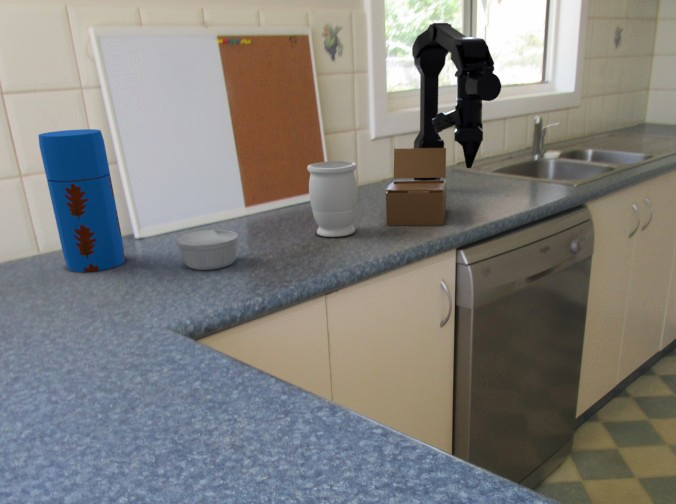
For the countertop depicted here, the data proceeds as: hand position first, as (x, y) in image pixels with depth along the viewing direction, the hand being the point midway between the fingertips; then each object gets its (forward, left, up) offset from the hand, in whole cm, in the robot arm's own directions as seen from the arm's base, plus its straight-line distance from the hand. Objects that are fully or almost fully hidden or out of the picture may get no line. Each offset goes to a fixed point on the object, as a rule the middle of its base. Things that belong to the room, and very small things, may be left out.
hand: (468, 167), depth 155 cm
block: (-12, -3, -11) cm, 16 cm away
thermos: (-58, -59, -11) cm, 83 cm away
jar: (-23, -25, -11) cm, 36 cm away
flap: (-13, +2, 0) cm, 13 cm away
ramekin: (-36, -52, -11) cm, 64 cm away
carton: (-11, -7, -11) cm, 17 cm away
